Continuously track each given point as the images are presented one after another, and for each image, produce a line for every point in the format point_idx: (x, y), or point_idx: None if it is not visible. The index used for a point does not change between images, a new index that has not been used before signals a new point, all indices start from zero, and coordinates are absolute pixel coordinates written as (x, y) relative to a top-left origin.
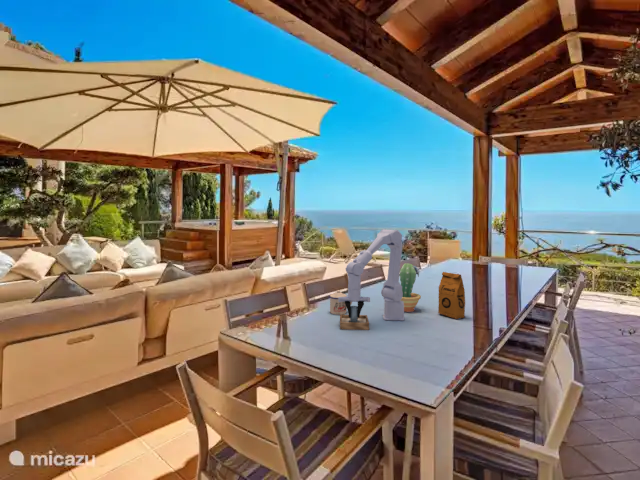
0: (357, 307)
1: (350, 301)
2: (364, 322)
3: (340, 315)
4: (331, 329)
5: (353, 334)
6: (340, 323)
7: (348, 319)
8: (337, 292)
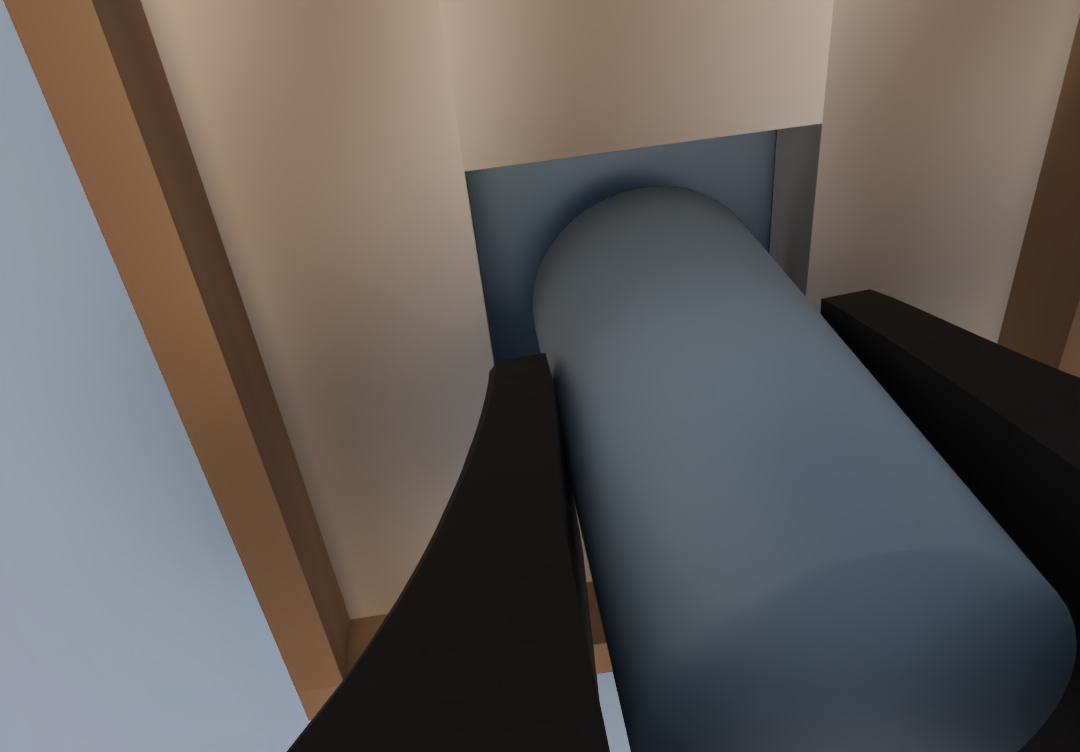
0: (1017, 713)
1: None
2: (953, 306)
3: (30, 2)
4: (145, 626)
5: (619, 726)
6: (324, 703)
7: (445, 83)
8: None
